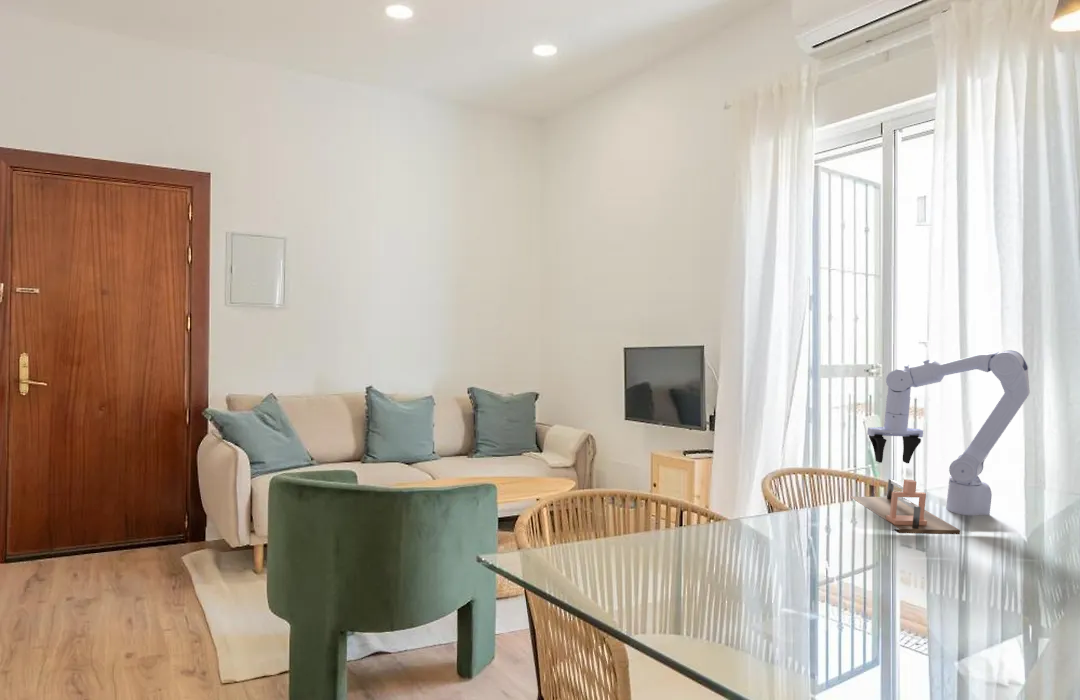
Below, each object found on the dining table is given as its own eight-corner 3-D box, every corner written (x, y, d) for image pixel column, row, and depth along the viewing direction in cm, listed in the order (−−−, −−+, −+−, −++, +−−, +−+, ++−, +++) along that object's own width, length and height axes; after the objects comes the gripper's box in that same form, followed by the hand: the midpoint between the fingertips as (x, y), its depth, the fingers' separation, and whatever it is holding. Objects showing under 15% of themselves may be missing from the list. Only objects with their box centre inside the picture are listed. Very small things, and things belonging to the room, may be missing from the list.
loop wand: (917, 519, 185) (921, 478, 183) (926, 525, 181) (930, 483, 179) (886, 518, 184) (889, 477, 183) (894, 524, 180) (898, 482, 179)
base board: (903, 501, 203) (903, 497, 203) (959, 534, 178) (960, 530, 178) (849, 500, 202) (850, 496, 202) (898, 533, 177) (899, 529, 177)
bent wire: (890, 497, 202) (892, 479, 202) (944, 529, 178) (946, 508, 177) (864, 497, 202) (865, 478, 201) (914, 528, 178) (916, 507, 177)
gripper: (914, 410, 206) (910, 458, 208) (863, 409, 206) (859, 457, 207) (929, 416, 199) (924, 465, 201) (876, 414, 199) (872, 464, 200)
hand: (892, 462), depth 204 cm, fingers open, 7 cm apart
